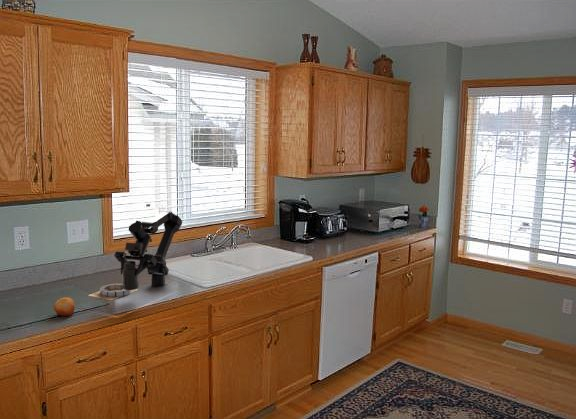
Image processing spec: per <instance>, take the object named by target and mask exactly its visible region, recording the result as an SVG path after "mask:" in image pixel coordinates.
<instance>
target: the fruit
mask: <svg viewBox="0 0 576 419" xmlns="http://www.w3.org/2000/svg"><path fill="white" fill-rule="evenodd" d="M52 307H53V310H54V312H55V314H57V315H58V316H59V315H61V316H60V317H66V316H67V315H69V316H71V315H72V314H74V312H75V308H76V305H75V301H74V300H73V299H72V298H71V297H68V296H67V297H66V296H65V297H61V298H59V299H58V300H56V301H55V303H53V306H52Z"/></svg>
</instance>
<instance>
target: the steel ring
mask: <svg viewBox="0 0 576 419" xmlns="http://www.w3.org/2000/svg"><path fill="white" fill-rule="evenodd" d="M110 290H119V291H110ZM99 291H100V295H101V296H103V297H119V298H121V297H126V296H128V295H129V294H131V293H130V292H131V290H124V289H123V283H110V284H105V285H103V286H101V287H100V288H99Z"/></svg>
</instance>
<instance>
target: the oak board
mask: <svg viewBox="0 0 576 419" xmlns="http://www.w3.org/2000/svg"><path fill="white" fill-rule="evenodd" d="M110 291H119V290H110ZM136 291H139V289H138V288H137V289H135V290H131V292H130V294H131V293H135V292H136ZM87 296H88V297H94V298H98V299H103V300H107V301H113V300H115V299H118V298H120V297H103V296H101V295H100V290H99V291H96V292H94V293H91V294H88V295H87Z"/></svg>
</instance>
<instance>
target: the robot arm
mask: <svg viewBox="0 0 576 419" xmlns="http://www.w3.org/2000/svg"><path fill="white" fill-rule="evenodd" d="M182 225H183V221H182V219H181V217H180V216H178V215H177V214H176V213H174V212H172V211H171V210H163V211H161V212H160V213H159V214H157V215H156V216H154V217H153V218H151V219H146V220H143V221H141V220H136V221H135V222H133V223H131V224H130V225H129V226H128V232H130V233H129V234H131V235H132V237H133V238H134V240H135V242H126V243H125V248H124V250H125V251H127V253H128V254H127V253H126V252H125V251H122V250H117V251H115V252H114V255H113V256H114V257H115V259H116V260H117V261H118V262H120V275H122V270H123V269H124V268H125V267H124V262H127V261H139V263H138V266H137V267H136V268H137V270H136V273H135V275H136V276H137V275H138V276H139V275H140V274H141V273H142V272H144V270H146V269H147V274H148V275H149V276H150V275H151V287H152V288H158V287H163V286H168V284H167V283H166V276H168V274H169V270H170V269H169V268H168V266H167V261H166V256H167V254H168V250H169V248H170V246H171V243H172V241H173V238H174V235H175V234H177V232H178V231H179V230H180V229H181V227H182ZM161 226H163V227H164V232H163V234H162V236H161V240H160V243H159V245H158V248H157V250H156V253H155V254H152V253H151V254H150V253H147V252H148V249H147V248H148V247H149V244H150V243H152V242H153V239H152V236H151V235H155V234H156V233H157V232H158V231H159V227H161Z"/></svg>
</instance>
